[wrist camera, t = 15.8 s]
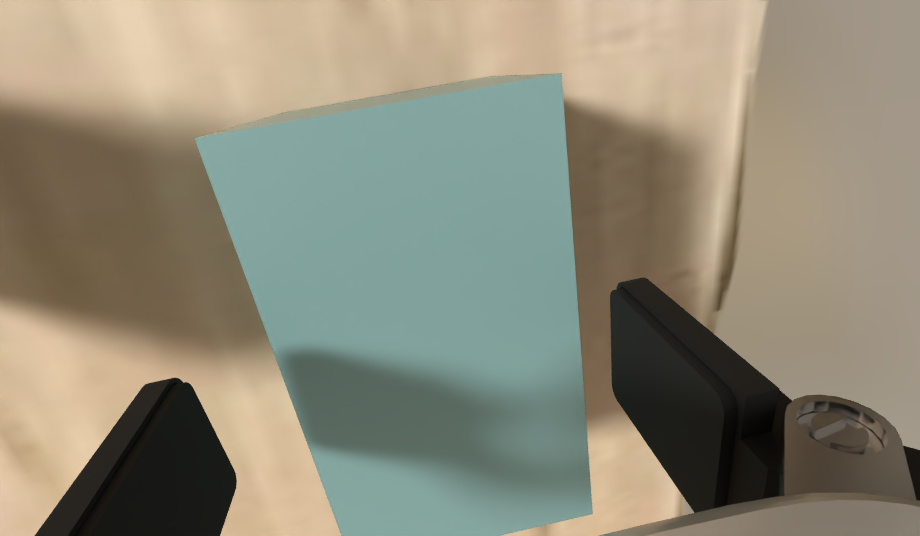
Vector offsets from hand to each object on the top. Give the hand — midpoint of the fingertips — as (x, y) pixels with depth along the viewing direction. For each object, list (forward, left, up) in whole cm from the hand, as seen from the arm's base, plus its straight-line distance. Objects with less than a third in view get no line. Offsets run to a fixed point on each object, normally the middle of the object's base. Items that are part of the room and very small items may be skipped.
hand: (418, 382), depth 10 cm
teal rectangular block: (+1, 0, -9) cm, 9 cm away
